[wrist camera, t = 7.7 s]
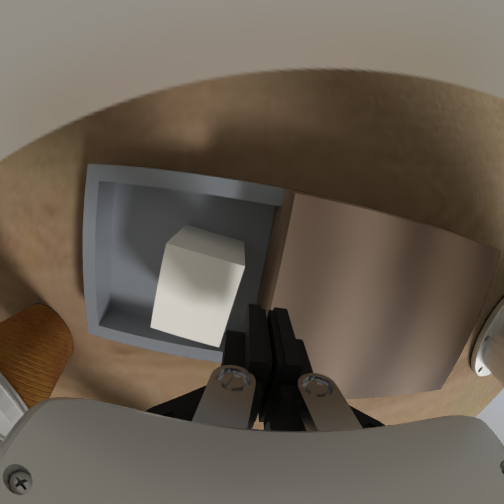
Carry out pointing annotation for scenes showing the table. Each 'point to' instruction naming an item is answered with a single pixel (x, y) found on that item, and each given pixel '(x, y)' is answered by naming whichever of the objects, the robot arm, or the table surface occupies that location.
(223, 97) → the table surface
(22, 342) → the disposable coffee cup
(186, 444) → the robot arm
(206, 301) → the white block
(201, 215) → the box
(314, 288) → the brown wooden box
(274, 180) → the table surface
